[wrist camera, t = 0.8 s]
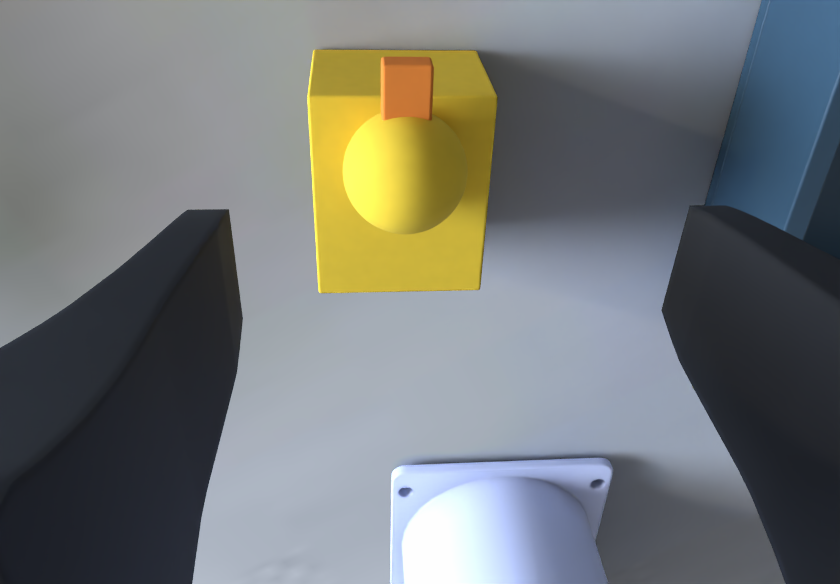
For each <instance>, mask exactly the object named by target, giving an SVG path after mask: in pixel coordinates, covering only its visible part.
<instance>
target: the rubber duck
mask: <svg viewBox="0 0 840 584" xmlns="http://www.w3.org/2000/svg"><path fill="white" fill-rule="evenodd" d="M307 100H308V118H309V135H310V152H311V169H312V186H313V204H314V221H315V238H316V255H317V272H318V290H319V292H320V293H353V292H403V291H452V290H479V289H480V285H481V274H482V263H483V252H484V241H485V230H486V219H487V209H488V198H489V187H490V176H491V165H492V154H493V143H494V133H495V122H496V111H497V100H498V97H497V95H496V93H495V90H494V88H493V86H492V84H491V82H490V80H489V77H488V75H487V73H486V71H485V69H484V66H483V64H482V62H481V60H480V58H479V55H478V53H477V51H465V50H314V51H313V57H312V65H311V73H310V81H309V89H308V97H307Z"/></svg>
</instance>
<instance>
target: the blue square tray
mask: <svg viewBox="0 0 840 584" xmlns="http://www.w3.org/2000/svg"><path fill="white" fill-rule="evenodd" d="M716 205H727V206H730V207H733V208H736V209H738V210H741V211H743V212H746V213H748V214H750V215H753V216H755V217H757V218H759V219H761V220H763V221H765V222H767V223H769V224H771V225H773V226H775V227H777V228H779V229H781V230H783V231H785V232H787V233H789V234H791V235H793V236H795V237H797V238H799V239H801V240H803V241H805V242H807V243H809V244H810V245H812V246H814V247H816V248H818V249H820V250H822V251H824V252H826V253H828V254H830V255H832V256H834V257H836V258H838V259H840V0H762V2H761V6H760V9H759V13H758V16H757V20H756V23H755V27H754V31H753V34H752V38H751V41H750V45H749V48H748V52H747V56H746V59H745V63H744V66H743V70H742V73H741V77H740V81H739V84H738V88H737V91H736V95H735V98H734V102H733V106H732V109H731V113H730V116H729V120H728V123H727V127H726V131H725V134H724V138H723V141H722V145H721V148H720V152H719V156H718V159H717V163H716V166H715V170H714V174H713V177H712V181H711V184H710V188H709V191H708V195H707V199H706V202H705V206H716Z"/></svg>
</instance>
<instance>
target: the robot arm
mask: <svg viewBox="0 0 840 584" xmlns="http://www.w3.org/2000/svg"><path fill="white" fill-rule="evenodd" d="M662 313H663V316H664V319H665V322H666V325H667V328H668V331H669V334H670V337H671V340H672V343H673V345H674V348H675V351H676V353H677V356H678V359H679V361H680V363H681V365H682V367H683V369H684V371H685V373H686V375H687V377H688V378H689V380H690V382H691V384H692V386H693V388H694V390H695V392H696V393H697V395H698V397H699V399H700V401H701V403H702V404H703V406H704V408H705V410H706V412H707V414H708V415H709V417H710V419H711V421H712V423H713V424H714V426H715V428H716V430H717V432H718V433H719V435H720V437H721V439H722V441H723V443H724V444H725V446H726V448H727V450H728V452H729V453H730V455H731V457H732V459H733V461H734V463H735V464H736V466H737V468H738V470H739V472H740V474H741V476H742V478H743V480H744V482H745V484H746V486H747V488H748V490H749V492H750V494H751V497H752V499H753V501H754V504H755V506H756V509H757V511H758V514H759V516H760V519H761V521H762V523H763V526H764V528H765V531H766V533H767V536H768V538H769V541H770V543H771V546H772V548H773V551H774V553H775V556H776V559H777V561H778V564H779V567H780V569H781V572H782V575H783V578H784V580H785V583H786V584H840V259H838V258H836V257H834V256H832V255H830V254H828V253H826V252H824V251H822V250H820V249H818V248H816V247H814V246H812V245H810V244H809V243H807V242H805V241H803V240H801V239H799V238H797V237H795V236H793V235H791V234H789V233H787V232H785V231H783V230H781V229H779V228H777V227H775V226H773V225H771V224H769V223H767V222H765V221H763V220H761V219H759V218H757V217H755V216H753V215H750V214H748V213H746V212H743V211H741V210H738V209H736V208H733V207H730V206H727V205H716V206H689V210H688V214H687V218H686V221H685V225H684V229H683V232H682V236H681V240H680V244H679V247H678V251H677V255H676V258H675V262H674V266H673V270H672V273H671V277H670V281H669V284H668V288H667V292H666V296H665V299H664V303H663V307H662ZM242 320H243V317H242V309H241V301H240V294H239V286H238V278H237V270H236V262H235V255H234V247H233V239H232V231H231V223H230V215H229V209H220V210H187V211H185V212H184V213H183V214H181V215H180V216H179V217H178V218H177V219H175V220H174V221H173V222H172V223H171V224H170V225H168V226H167V227H166V228H165V229H164V230H163V231H162V232H160V233H159V234H158V235H157V236H156V237H155V238H154V239H152V240H151V241H150V242H149V243H148V244H147V245H146V246H144V247H143V248H142V249H141V250H140V251H138V252H137V253H136V254H135V255H134V256H132V257H131V258H130V259H129V260H128V261H127V262H125V263H124V264H123V265H122V266H121V267H119V268H118V269H117V270H116V271H114V272H113V273H112V274H110V275H109V276H108V277H106V278H105V279H104V280H102V281H101V282H100V283H98V284H97V285H96V286H94V287H93V288H92V289H90V290H89V291H88V292H86V293H85V294H84V295H82V296H81V297H80V298H78V299H77V300H76V301H74V302H73V303H72V304H70V305H69V306H67V307H66V308H65V309H63V310H62V311H60V312H59V313H57V314H56V315H54V316H52V317H51V318H49V319H48V320H46V321H45V322H43V323H42V324H40V325H38V326H37V327H35V328H33V329H32V330H30V331H28V332H27V333H25V334H23V335H22V336H20V337H18V338H17V339H15V340H13V341H12V342H10V343H8V344H6V345H4V346H3V347H1V348H0V584H192V580H193V573H194V566H195V558H196V551H197V544H198V537H199V530H200V523H201V516H202V512H203V507H204V502H205V497H206V492H207V488H208V484H209V480H210V476H211V472H212V468H213V465H214V461H215V457H216V453H217V449H218V445H219V441H220V437H221V433H222V430H223V426H224V422H225V418H226V414H227V410H228V406H229V402H230V398H231V394H232V390H233V386H234V382H235V378H236V374H237V367H238V358H239V350H240V340H241V330H242ZM612 475H613V468H612V465H611V463H610V462H609V460H607V459H605V458H575V459H550V460H524V461H499V462H473V463H448V464H422V465H404V466H400V467H398V468H396V469H395V470H394V471H393V472H392V475H391V550H390V584H608V581H607V578H606V575H605V571H604V568H603V565H602V562H601V559H600V556H599V553H598V550H597V546H596V543H595V540H596V536H597V533H598V529H599V525H600V521H601V517H602V513H603V510H604V506H605V502H606V498H607V494H608V491H609V487H610V483H611V479H612ZM596 479H597V480H596ZM403 487H408V488H403Z"/></svg>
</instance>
